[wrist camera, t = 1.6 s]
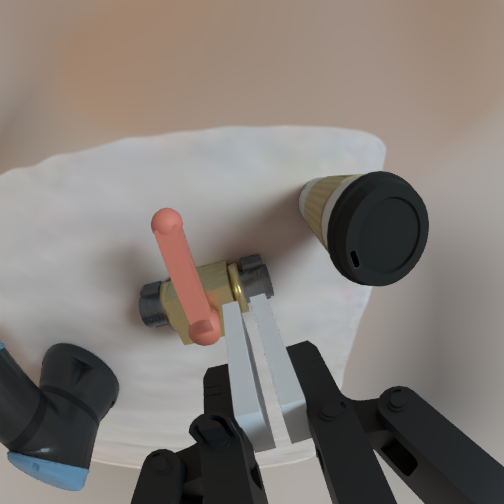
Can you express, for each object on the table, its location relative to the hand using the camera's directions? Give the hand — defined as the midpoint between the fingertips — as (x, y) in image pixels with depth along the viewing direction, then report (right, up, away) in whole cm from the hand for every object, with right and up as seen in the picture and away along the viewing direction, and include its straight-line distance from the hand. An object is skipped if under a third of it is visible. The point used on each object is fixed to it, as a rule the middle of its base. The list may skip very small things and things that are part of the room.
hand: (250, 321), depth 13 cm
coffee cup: (+9, +10, +20) cm, 24 cm away
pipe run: (-6, -1, +22) cm, 22 cm away
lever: (-6, +1, +13) cm, 14 cm away
